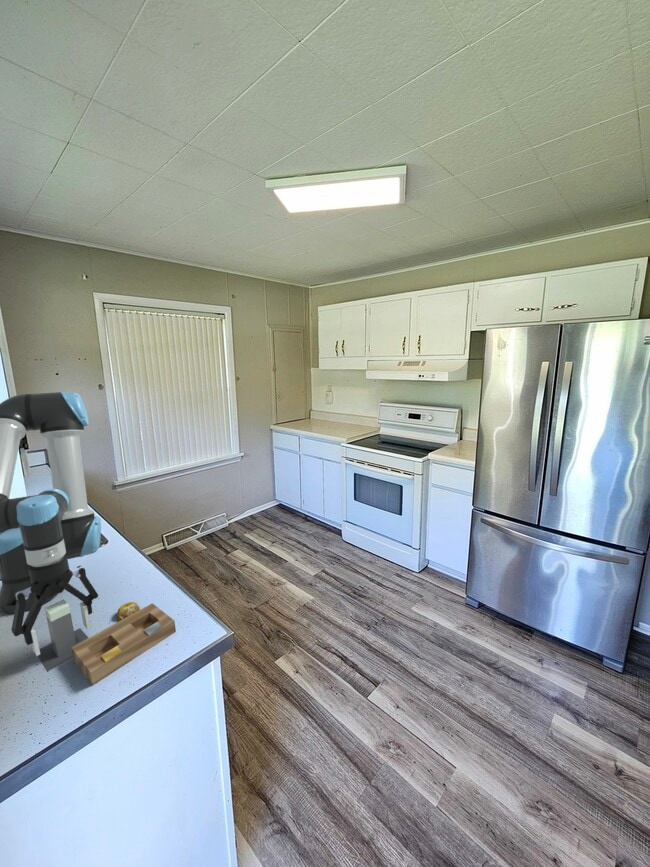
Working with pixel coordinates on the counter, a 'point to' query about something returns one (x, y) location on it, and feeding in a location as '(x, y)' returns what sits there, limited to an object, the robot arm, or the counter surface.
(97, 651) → the socket block
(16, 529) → the robot arm
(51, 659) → the mat
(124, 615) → the fruit
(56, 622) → the plug
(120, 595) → the counter surface
